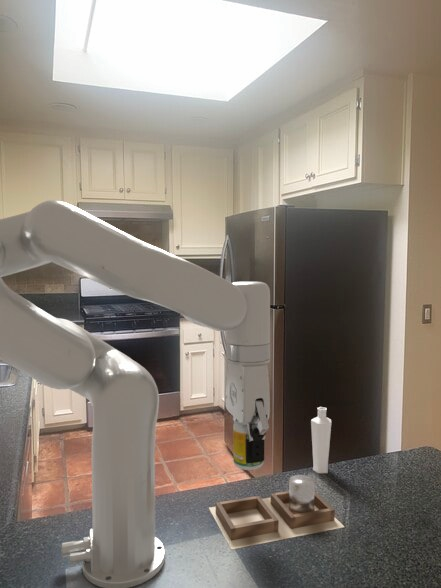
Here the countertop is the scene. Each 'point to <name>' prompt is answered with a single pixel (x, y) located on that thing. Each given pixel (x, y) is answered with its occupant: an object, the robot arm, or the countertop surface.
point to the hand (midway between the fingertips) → (248, 453)
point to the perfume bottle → (321, 440)
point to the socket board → (270, 519)
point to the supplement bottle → (242, 446)
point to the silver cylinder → (301, 494)
